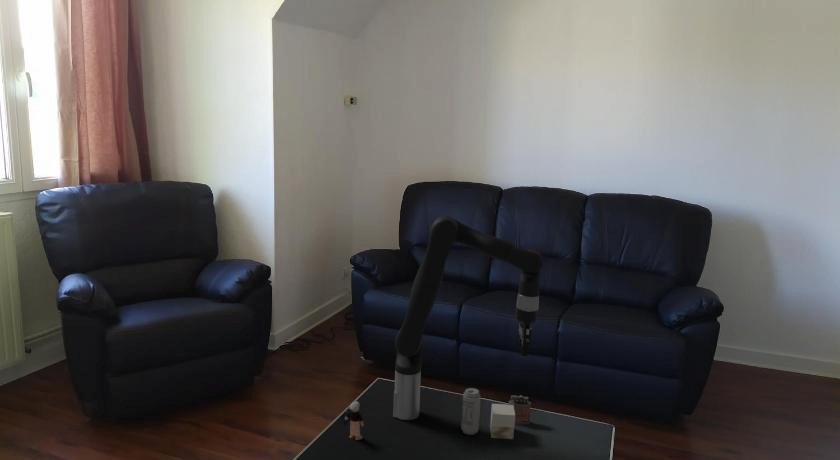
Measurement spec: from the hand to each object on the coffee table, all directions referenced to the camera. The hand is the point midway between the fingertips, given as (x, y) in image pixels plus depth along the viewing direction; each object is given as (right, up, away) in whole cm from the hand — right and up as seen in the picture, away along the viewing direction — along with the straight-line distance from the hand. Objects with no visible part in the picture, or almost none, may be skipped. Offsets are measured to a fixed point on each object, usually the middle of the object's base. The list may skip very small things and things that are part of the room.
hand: (523, 350), depth 212 cm
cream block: (-7, -24, -2) cm, 25 cm away
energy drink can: (-19, -28, -1) cm, 34 cm away
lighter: (-1, -27, +7) cm, 28 cm away
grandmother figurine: (-58, -28, -8) cm, 65 cm away
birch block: (-8, -28, -1) cm, 30 cm away
